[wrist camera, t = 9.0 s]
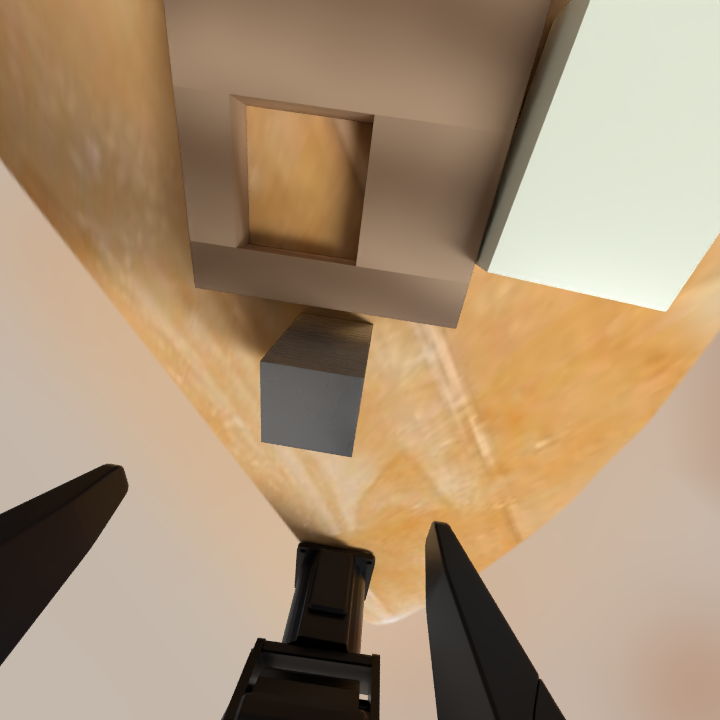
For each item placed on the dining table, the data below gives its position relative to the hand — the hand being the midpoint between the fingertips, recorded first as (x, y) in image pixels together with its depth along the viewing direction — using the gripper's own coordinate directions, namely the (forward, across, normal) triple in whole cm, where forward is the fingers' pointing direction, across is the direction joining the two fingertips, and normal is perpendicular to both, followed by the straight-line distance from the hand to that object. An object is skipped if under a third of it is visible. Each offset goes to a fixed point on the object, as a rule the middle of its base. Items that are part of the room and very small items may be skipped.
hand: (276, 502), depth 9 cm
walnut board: (+10, +1, -10) cm, 14 cm away
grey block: (+10, 0, 0) cm, 10 cm away
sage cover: (+10, -10, -10) cm, 18 cm away
